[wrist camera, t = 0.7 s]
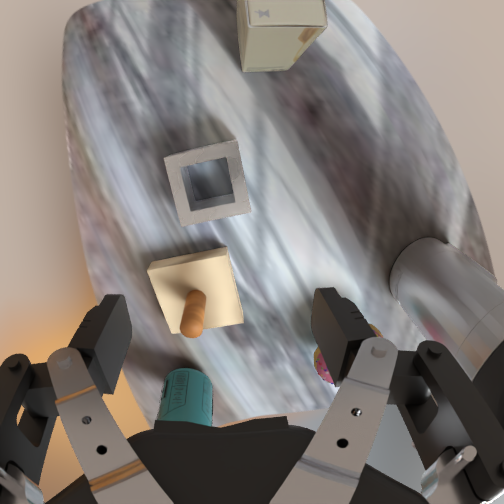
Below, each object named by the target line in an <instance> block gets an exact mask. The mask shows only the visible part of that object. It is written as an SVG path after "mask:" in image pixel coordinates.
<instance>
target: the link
mask: <svg viewBox="0 0 504 504" xmlns="http://www.w3.org/2000/svg"><path fill="white" fill-rule="evenodd" d="M224 157H226V159H227V163H228V168H229V173H230V178H231V183H232V187H233V192H234V193H233V194H228V195H223V196H218V197H213V198H209V199H204V200H200V201H195V197H194V193H193V189H192V184H191V180H190V176H189V172H188V168H187V166H189V165H193V164H197V163H201V162H206V161H210V160H215V159H219V158H224ZM164 162H165V166H166V170H167V174H168V178H169V182H170V186H171V190H172V194H173V197H174V201H175V205H176V209H177V212H178V216H179V220H180V223H181V227H183V226H188V225H192V224H197V223H202V222H206V221H211V220H216V219H221V218H226V217H231V216H235V215H240V214H246V213H251V208H250V203H249V197H248V192H247V187H246V182H245V177H244V172H243V167H242V162H241V157H240V152H239V147H238V142H237V139H235V140H230V141H225V142H221V143H216V144H211V145H207V146H202V147H198V148H194V149H190V150H186V151H182V152H178V153H174V154H171V155H169V156H167V157H165V158H164Z"/></svg>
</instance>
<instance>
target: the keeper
mask: <svg viewBox="0 0 504 504" xmlns="http://www.w3.org/2000/svg"><path fill="white" fill-rule="evenodd" d="M147 272H148V275H149V277H150V280H151V283H152V285H153V288H154V291H155V293H156V296H157V298H158V301H159V303H160V306H161V308H162V311H163V313H164V316H165V318H166V320H167V323H168V325H169V328H170V330H171V332H172V334H175V333H182V334H183V335H184V336H186V337H188V338H196V337H198V336H200V335H201V334H202V330H203V329H209V328H215V327H221V326H227V325H233V324H239V323H244V322H243V310H242V306H241V302H240V298H239V294H238V290H237V286H236V282H235V278H234V274H233V270H232V266H231V262H230V257H229V253H228V249H227V247H222V248H217V249H212V250H207V251H202V252H197V253H192V254H187V255H182V256H177V257H172V258H167V259H162V260H158V261H153V262H151V264H150V266H149V268H148V270H147Z"/></svg>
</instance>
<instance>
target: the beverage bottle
mask: <svg viewBox="0 0 504 504" xmlns="http://www.w3.org/2000/svg"><path fill="white" fill-rule="evenodd" d="M165 378H166V379H165V382H164V388H163V391H161V392H162V398H161V404H160V409H159V412H158V414H157V415H158V417H157V418H158V420H165V421H188V422H193V423H197V424H202V425H207V426H212V424H213V423H212V415H213V399H212V397H213V395H212V394H213V393H212V388H213V385H212V383H211V381H210V379H209V378H208V377H207V376H206V375H205V374H204V373H202V372H200V371H198V370H194V369H190V368H180V369H176V370H173V371H171V372H170V373H169V374H168V375H167V376H166V377H165ZM162 387H163V386H162ZM159 403H160V402H159ZM156 420H157V419H156Z"/></svg>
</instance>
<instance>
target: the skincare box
mask: <svg viewBox="0 0 504 504" xmlns="http://www.w3.org/2000/svg"><path fill="white" fill-rule="evenodd" d="M327 26H328V24H327V14H326V5H325V0H237V32H238V42H239V51H240V59H241V66H242V72H264V71H284V70H289V69H290V67H291V66H292V65H293V64H294V63H295V62H296V60H297V59H298V58H299V57H300V56H301V55H302V54H303V53H304V52H305V50H306V49H307V48H308V47H309V46H310V45H311V44H312V43H313V42H314V40H315V39H316V38H317V37H318V36H319V35H320V34H321V33H322V32H323V31H324V30H325V29H326V28H327Z"/></svg>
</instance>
